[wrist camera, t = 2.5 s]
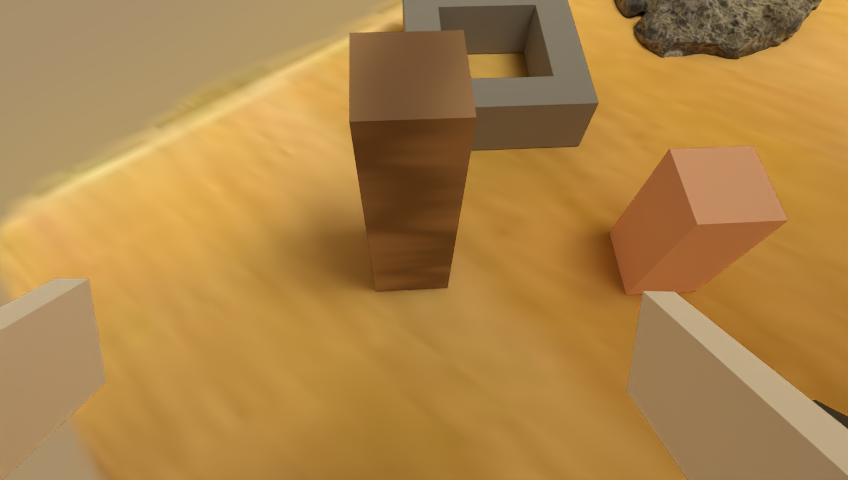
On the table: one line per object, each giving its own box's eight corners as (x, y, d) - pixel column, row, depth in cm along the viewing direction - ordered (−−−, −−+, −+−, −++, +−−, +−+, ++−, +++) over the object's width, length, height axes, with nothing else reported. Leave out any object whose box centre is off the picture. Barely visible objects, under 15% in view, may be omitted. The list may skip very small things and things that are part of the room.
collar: (548, 30, 38) (562, -18, 35) (578, 146, 33) (598, 103, 30) (403, 34, 38) (402, -15, 34) (411, 152, 33) (411, 109, 29)
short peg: (674, 229, 31) (753, 145, 24) (695, 291, 29) (788, 220, 22) (609, 232, 30) (669, 148, 23) (626, 295, 28) (697, 224, 21)
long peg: (441, 225, 30) (463, 30, 18) (447, 287, 28) (476, 117, 16) (374, 228, 30) (349, 33, 18) (375, 291, 28) (349, 121, 16)
